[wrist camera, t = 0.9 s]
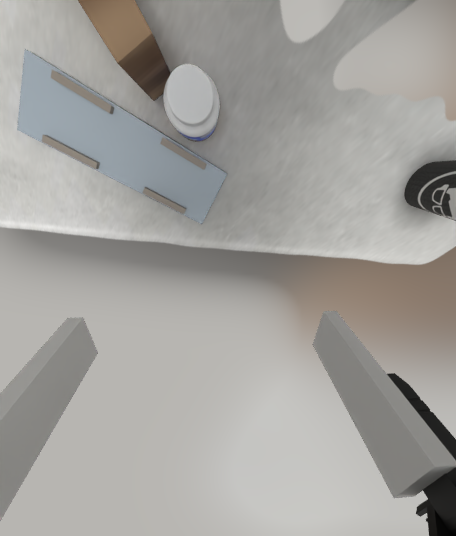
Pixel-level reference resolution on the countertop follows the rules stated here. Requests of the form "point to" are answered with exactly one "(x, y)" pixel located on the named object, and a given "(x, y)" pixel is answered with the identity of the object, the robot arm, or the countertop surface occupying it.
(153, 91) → the frame
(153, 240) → the countertop surface
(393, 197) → the countertop surface
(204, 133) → the pill bottle
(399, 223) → the countertop surface
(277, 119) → the countertop surface
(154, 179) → the ledge
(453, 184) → the coffee cup
